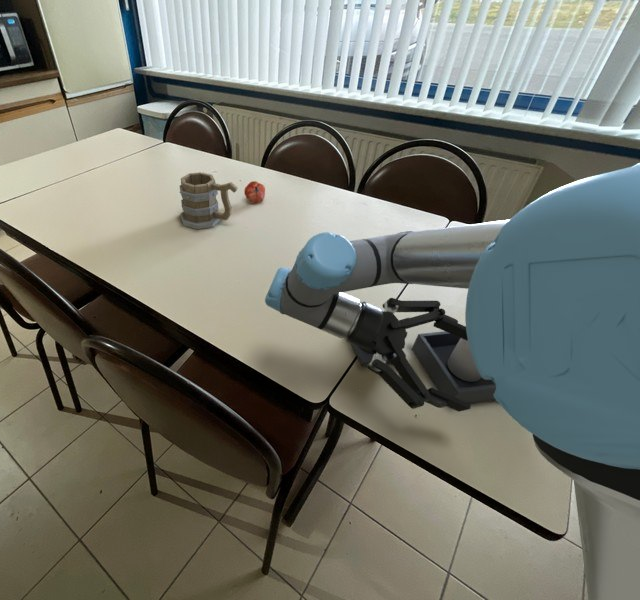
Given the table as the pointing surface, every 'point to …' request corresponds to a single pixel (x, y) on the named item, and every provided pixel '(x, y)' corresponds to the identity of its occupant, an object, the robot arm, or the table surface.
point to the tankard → (203, 200)
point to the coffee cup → (463, 362)
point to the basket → (434, 359)
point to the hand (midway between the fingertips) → (469, 370)
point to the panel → (365, 355)
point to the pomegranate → (254, 192)
